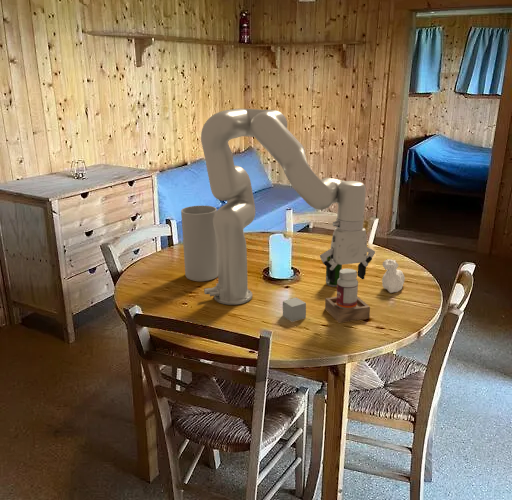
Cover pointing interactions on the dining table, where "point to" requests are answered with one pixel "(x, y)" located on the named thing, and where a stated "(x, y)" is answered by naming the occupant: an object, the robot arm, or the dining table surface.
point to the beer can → (337, 270)
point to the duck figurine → (392, 276)
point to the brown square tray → (347, 310)
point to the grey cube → (294, 309)
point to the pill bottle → (347, 289)
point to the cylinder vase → (199, 243)
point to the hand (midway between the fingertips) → (346, 279)
